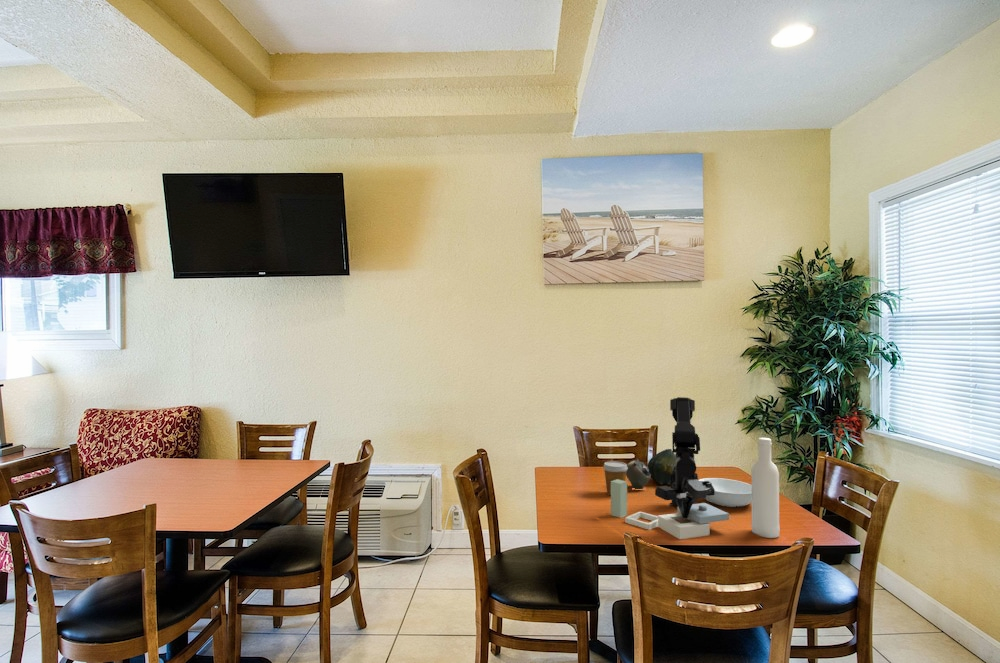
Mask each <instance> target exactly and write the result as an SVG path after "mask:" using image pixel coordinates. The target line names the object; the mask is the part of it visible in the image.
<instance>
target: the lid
mask: <svg viewBox="0 0 1000 663" xmlns="http://www.w3.org/2000/svg"><path fill="white" fill-rule="evenodd" d="M676 508H677V513H680V514H681V512H680V509H679V507H678V506H677V507H676ZM688 518H690V519H692V520H694V521H696V522H698V523H700V524H702V523H716V522H724V521H729V520H730V513H729V512H726V511H724V510H722V509H719V508H717V507H715V506H713V505H711V504H710V503H706V502H701V503H693V504H692V506H691V509H690V511H689V514H688Z"/></svg>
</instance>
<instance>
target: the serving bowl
mask: <svg viewBox="0 0 1000 663" xmlns="http://www.w3.org/2000/svg"><path fill="white" fill-rule="evenodd" d="M698 480H699V481H703V482H704V481H710V482H711V483H712V486H713V488H714V489H715V494H714V495H710V496H706V498H703V499H704V500H706V501H708V502H709V503H712V504H715V505H718V506H720V507H725V506H726V508H727V507H728V508H736V506H737V507H744V506H747V505H749V504H752V484H750V483H748V482H744V481H741V480H738V479H737V480H736V479H730V478H729V479H728V478H720V477H706V478H700V479H698Z"/></svg>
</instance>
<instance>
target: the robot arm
mask: <svg viewBox="0 0 1000 663" xmlns="http://www.w3.org/2000/svg"><path fill="white" fill-rule="evenodd" d="M695 401H696V400H694V399H692V398H691V397H690V398H689V397H682V396H678V397H673V398H671V399H670V400H669V402H670V403H669V410H670V412H672V413H671V414H672V417H673V419H674V421H675V422H676V424H675V425H674V431H673V432H671V435H672V436H671V437H672V438H671V439H672V440H671V441H672V442H671V444H672V445H671V447H672V448H671V449H672V451H673V453H674V454H675V464H674V466H673V468H672V473H670V485H660V486H656V488H655V490H654V494H655V496H656V497H658V498H660V499H663V500H664V501H671V502H669V505H671V506H673V507H675V508H677V506H678V507H679V509H680V512H681V514H682V516H683V518H687V517H688V514H689V511H690V509H691V506H692V504H694V503H695V502H696V501H697V500H699V499H704V498H706V496H710V495H714V494H715V489H714V488H713V486H712V483H711V482H710V481H704V482H703V481H699V480H700V479H699V476H698V473H697V465H696V461H695V460H696V459H695V455H699V452H700V451H701V440H700V436H699V434H698V433H696V427H695V426H694V425H693V424H691V422H692V421H691V420H692V418H693V416H694V414H693V412H695V410H696V407H695V405H696V402H695ZM669 486H670V487H669Z"/></svg>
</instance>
